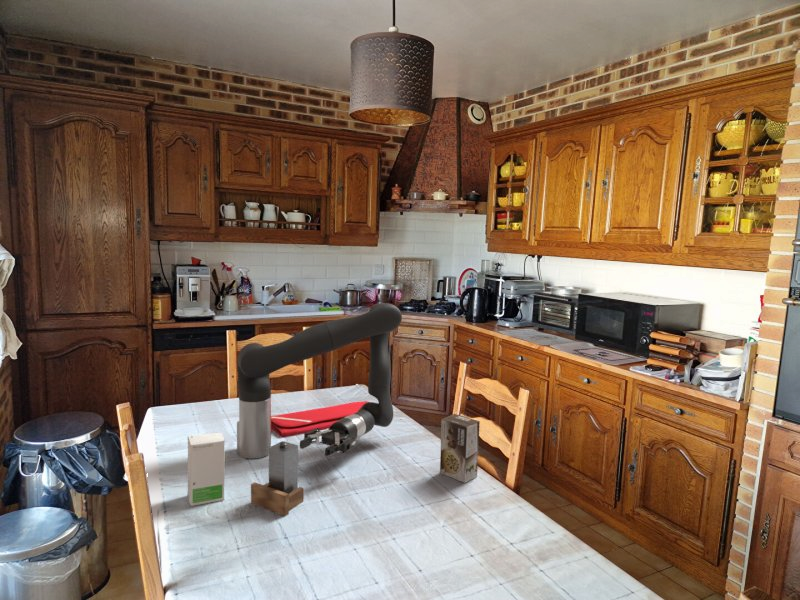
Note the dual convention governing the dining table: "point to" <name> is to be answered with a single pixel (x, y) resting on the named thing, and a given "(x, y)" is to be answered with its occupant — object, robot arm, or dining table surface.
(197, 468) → the skincare box
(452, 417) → the coffee box
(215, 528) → the dining table surface
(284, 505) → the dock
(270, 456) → the brushed steel pillar
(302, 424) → the dish drying mat
